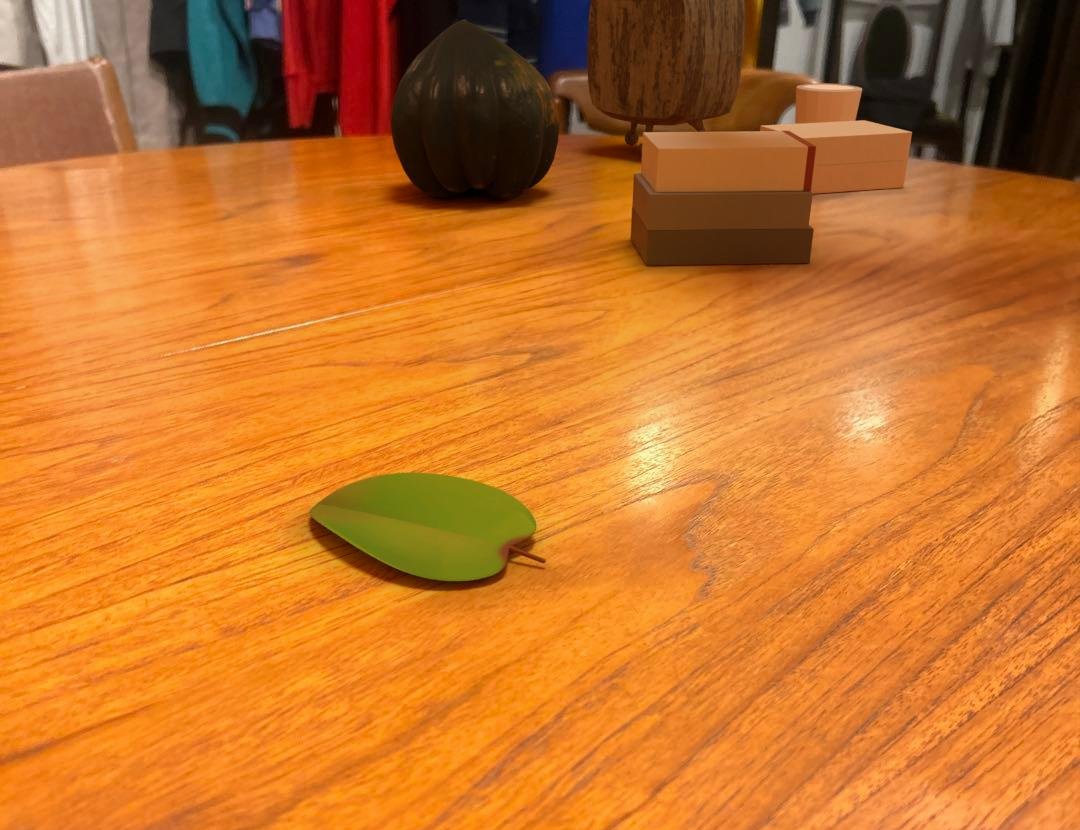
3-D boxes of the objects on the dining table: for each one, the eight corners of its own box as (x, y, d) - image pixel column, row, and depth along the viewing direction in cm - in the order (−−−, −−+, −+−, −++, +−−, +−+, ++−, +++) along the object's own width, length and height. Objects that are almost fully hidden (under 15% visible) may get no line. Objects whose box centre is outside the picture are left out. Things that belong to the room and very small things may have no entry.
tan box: (784, 172, 83) (789, 130, 82) (811, 191, 77) (816, 146, 76) (640, 174, 83) (642, 131, 81) (655, 193, 76) (658, 147, 75)
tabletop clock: (734, 157, 117) (758, -114, 105) (686, 169, 111) (705, -117, 99) (627, 142, 125) (637, -110, 113) (577, 153, 119) (582, -113, 107)
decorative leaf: (379, 621, 38) (376, 599, 38) (298, 508, 45) (295, 488, 44) (569, 556, 41) (568, 535, 41) (467, 460, 48) (465, 440, 47)
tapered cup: (786, 149, 122) (794, 82, 118) (849, 151, 121) (858, 83, 118) (790, 160, 116) (798, 89, 112) (856, 162, 115) (866, 91, 112)
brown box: (781, 237, 86) (788, 171, 84) (809, 263, 79) (818, 192, 77) (630, 238, 85) (633, 172, 83) (646, 265, 78) (649, 194, 76)
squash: (504, 153, 87) (546, -8, 90) (343, 149, 92) (386, -4, 95) (555, 242, 100) (590, 99, 103) (411, 234, 105) (448, 98, 108)
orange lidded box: (855, 172, 110) (863, 119, 108) (903, 187, 103) (912, 132, 101) (750, 179, 107) (755, 125, 104) (792, 195, 100) (799, 138, 98)
